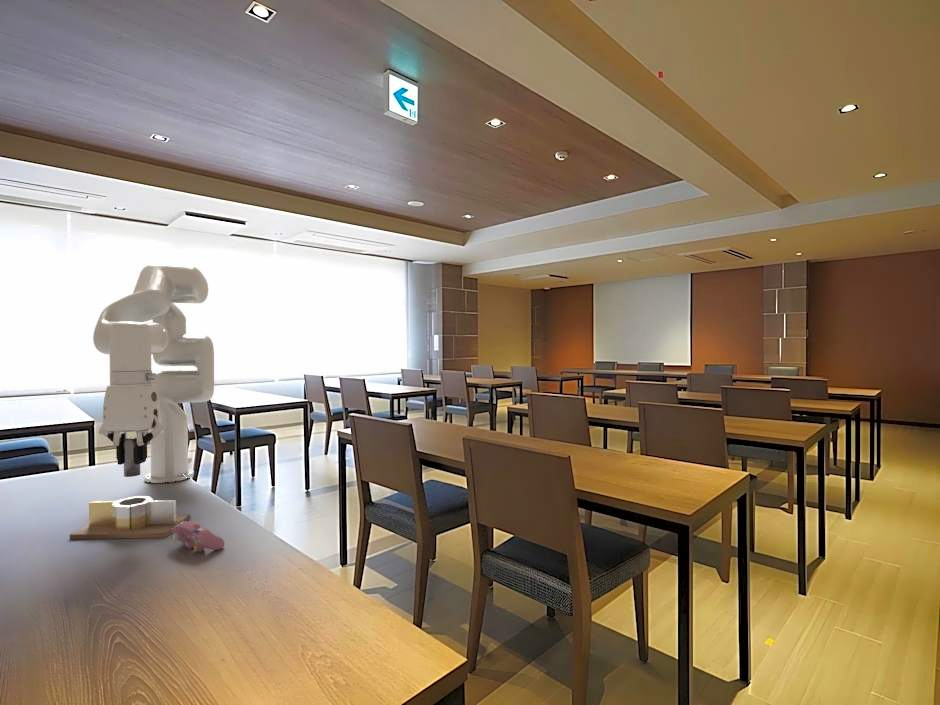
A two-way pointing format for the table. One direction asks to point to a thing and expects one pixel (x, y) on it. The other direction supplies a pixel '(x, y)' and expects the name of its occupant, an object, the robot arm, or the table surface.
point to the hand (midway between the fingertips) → (132, 462)
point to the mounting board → (127, 531)
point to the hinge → (132, 512)
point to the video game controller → (196, 536)
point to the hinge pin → (130, 457)
